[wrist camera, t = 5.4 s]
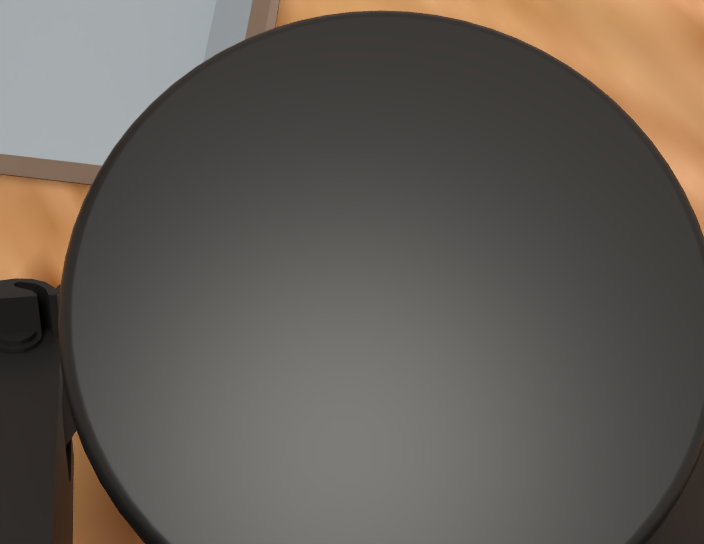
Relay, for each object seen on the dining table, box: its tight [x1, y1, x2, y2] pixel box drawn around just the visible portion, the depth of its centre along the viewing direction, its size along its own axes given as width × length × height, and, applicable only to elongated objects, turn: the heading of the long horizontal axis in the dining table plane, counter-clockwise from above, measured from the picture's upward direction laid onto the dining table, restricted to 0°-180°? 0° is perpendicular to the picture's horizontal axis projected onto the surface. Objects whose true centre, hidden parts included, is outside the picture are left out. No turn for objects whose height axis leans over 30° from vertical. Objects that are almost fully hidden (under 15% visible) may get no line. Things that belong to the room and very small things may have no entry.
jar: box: [58, 11, 704, 544], centre depth 14 cm, size 9×8×12 cm
